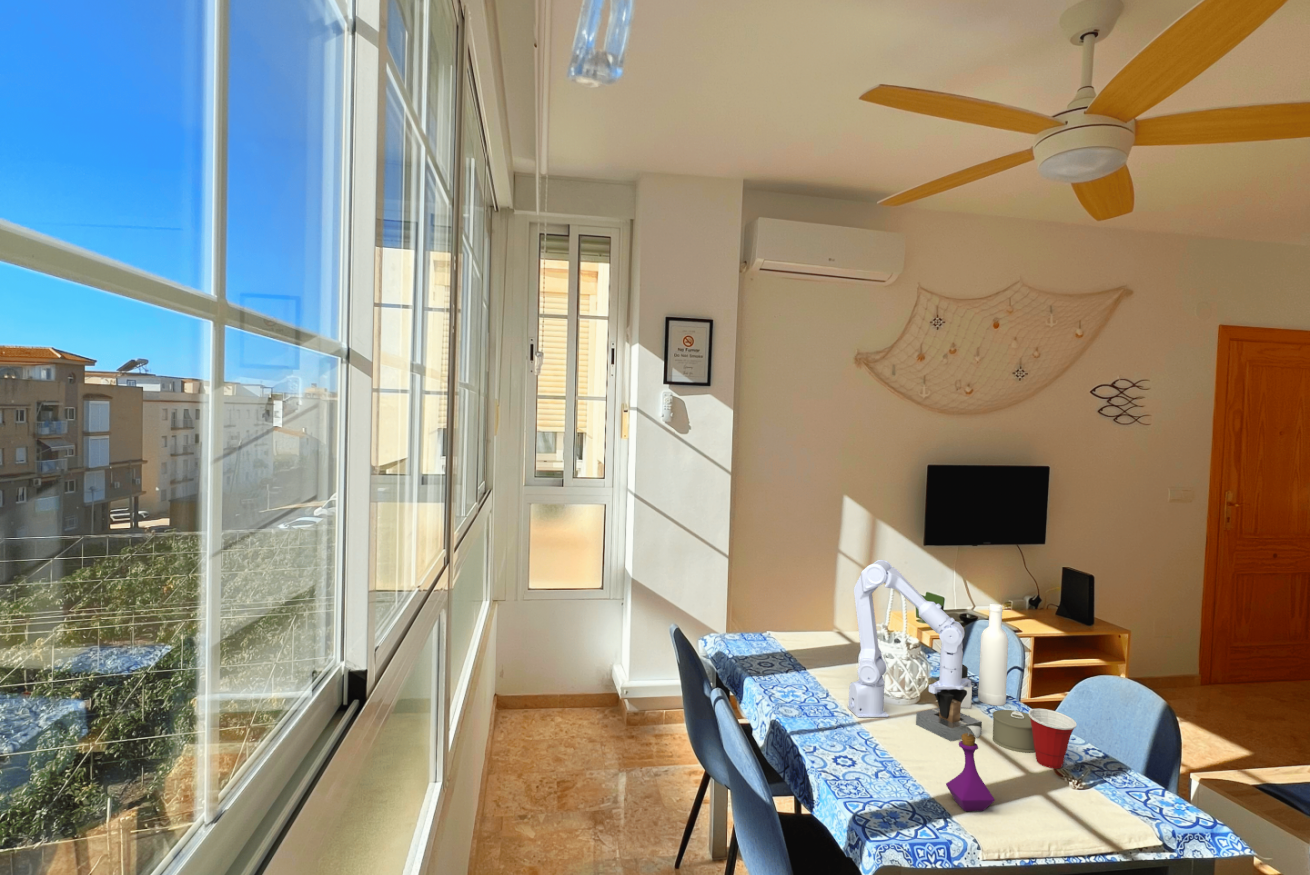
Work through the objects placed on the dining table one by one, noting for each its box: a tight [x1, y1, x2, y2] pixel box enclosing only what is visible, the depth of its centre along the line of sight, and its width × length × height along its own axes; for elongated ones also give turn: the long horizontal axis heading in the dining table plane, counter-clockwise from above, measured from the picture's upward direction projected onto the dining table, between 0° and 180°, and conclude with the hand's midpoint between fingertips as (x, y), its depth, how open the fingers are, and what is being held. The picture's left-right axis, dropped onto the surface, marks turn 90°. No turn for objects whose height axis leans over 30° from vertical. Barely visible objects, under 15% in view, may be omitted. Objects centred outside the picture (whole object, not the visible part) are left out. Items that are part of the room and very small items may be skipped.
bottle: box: [977, 603, 1009, 707], centre depth 231 cm, size 8×8×30 cm
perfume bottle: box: [945, 726, 996, 812], centre depth 164 cm, size 8×8×18 cm
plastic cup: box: [1027, 708, 1077, 769], centre depth 187 cm, size 11×11×12 cm
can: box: [992, 709, 1035, 754], centre depth 199 cm, size 12×12×7 cm
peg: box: [939, 699, 962, 723], centre depth 207 cm, size 3×4×7 cm, turn 28°
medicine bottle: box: [961, 663, 973, 709], centre depth 228 cm, size 7×7×12 cm
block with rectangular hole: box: [915, 707, 983, 742], centre depth 207 cm, size 12×12×4 cm
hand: (948, 715), depth 207 cm, fingers closed on peg, 3 cm apart
